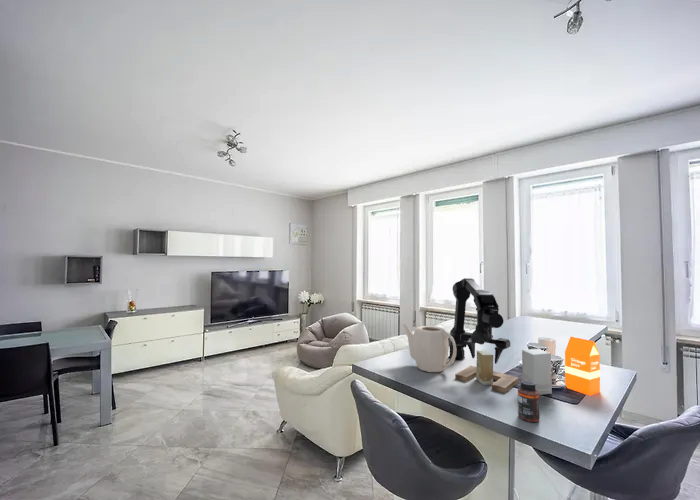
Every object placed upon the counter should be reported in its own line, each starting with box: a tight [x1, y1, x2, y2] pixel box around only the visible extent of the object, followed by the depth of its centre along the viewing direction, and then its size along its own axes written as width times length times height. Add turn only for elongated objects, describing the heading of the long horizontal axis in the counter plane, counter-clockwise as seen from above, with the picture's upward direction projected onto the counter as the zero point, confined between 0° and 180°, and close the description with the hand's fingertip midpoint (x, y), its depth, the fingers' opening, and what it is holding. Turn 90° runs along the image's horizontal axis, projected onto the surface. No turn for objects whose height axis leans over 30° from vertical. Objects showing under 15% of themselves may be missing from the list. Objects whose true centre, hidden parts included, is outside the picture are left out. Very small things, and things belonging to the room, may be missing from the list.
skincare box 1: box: [475, 350, 494, 386], centre depth 130 cm, size 6×4×12 cm
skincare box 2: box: [521, 348, 553, 396], centre depth 121 cm, size 8×7×16 cm
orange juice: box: [564, 336, 601, 397], centre depth 124 cm, size 8×9×20 cm
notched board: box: [454, 365, 520, 394], centre depth 131 cm, size 20×16×2 cm
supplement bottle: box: [517, 380, 540, 423], centre depth 99 cm, size 6×6×11 cm
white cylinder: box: [537, 337, 557, 356], centre depth 144 cm, size 7×7×15 cm
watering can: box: [403, 323, 457, 373], centre depth 145 cm, size 16×27×19 cm, turn 51°
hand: (484, 360), depth 130 cm, fingers open, 9 cm apart
